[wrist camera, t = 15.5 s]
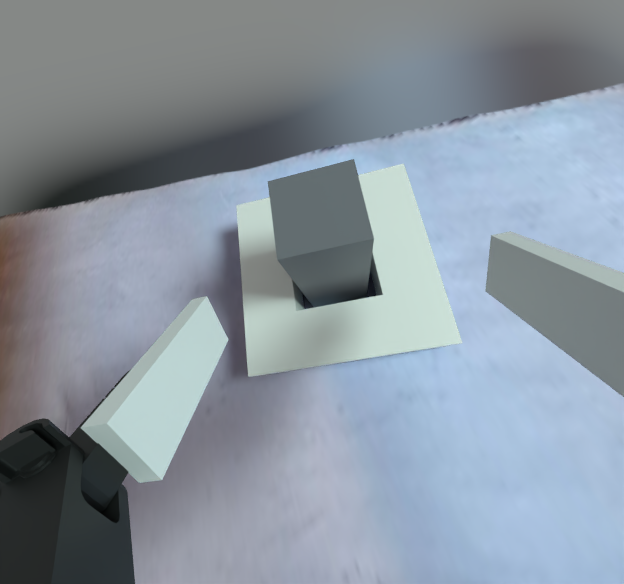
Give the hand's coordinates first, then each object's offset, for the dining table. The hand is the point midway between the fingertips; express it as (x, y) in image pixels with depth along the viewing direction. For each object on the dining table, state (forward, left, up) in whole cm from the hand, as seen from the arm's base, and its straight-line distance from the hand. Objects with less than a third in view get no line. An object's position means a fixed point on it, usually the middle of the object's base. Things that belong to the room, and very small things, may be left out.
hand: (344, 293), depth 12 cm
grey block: (-1, +5, -12) cm, 13 cm away
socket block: (-1, +5, -12) cm, 13 cm away
